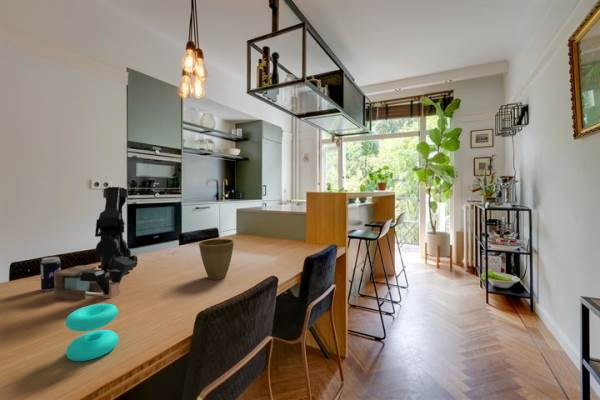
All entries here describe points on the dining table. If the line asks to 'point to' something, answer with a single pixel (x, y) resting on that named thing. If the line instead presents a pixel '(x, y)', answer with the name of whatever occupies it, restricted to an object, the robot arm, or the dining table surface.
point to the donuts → (93, 341)
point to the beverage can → (49, 272)
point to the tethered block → (76, 284)
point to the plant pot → (216, 257)
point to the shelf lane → (72, 293)
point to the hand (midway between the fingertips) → (111, 292)
